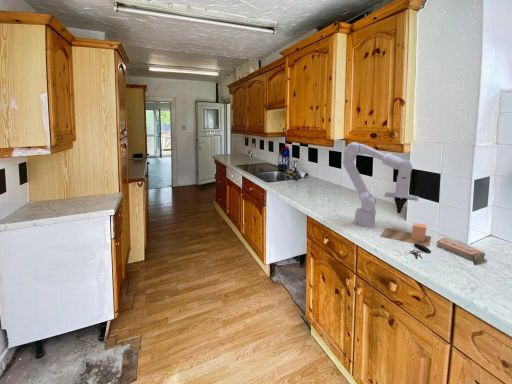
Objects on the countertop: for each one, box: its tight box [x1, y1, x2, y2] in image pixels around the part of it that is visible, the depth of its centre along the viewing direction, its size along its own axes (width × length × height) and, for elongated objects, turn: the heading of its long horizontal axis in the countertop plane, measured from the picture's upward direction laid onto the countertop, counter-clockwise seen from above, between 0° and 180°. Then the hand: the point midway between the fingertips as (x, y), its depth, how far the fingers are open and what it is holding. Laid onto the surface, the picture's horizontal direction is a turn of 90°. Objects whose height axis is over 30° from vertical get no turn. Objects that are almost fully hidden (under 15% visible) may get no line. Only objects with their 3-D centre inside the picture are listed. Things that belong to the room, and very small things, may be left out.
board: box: [379, 227, 432, 248], centre depth 140 cm, size 20×14×1 cm
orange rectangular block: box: [411, 222, 428, 242], centre depth 137 cm, size 5×5×7 cm
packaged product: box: [436, 237, 488, 265], centre depth 125 cm, size 18×5×10 cm
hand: (399, 212), depth 148 cm, fingers closed
